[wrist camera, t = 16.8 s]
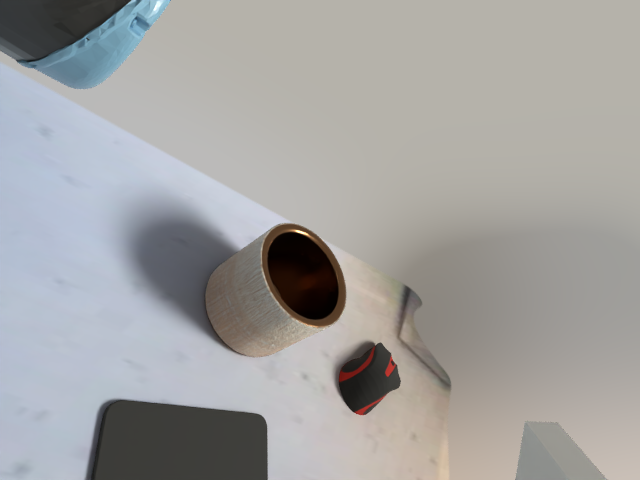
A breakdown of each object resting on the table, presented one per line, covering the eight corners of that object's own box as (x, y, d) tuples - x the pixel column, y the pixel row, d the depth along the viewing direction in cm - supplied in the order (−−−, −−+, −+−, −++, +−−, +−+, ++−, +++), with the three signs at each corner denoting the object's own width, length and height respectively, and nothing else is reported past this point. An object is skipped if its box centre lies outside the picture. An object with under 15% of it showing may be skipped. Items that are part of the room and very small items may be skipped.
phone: (268, 503, 39) (87, 513, 29) (262, 504, 39) (83, 513, 30) (267, 414, 42) (108, 397, 33) (262, 415, 43) (104, 399, 34)
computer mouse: (397, 383, 59) (421, 376, 57) (354, 425, 51) (380, 418, 48) (375, 340, 60) (398, 331, 58) (329, 374, 51) (354, 365, 49)
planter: (181, 285, 43) (237, 242, 37) (252, 248, 51) (306, 208, 46) (241, 380, 43) (307, 352, 37) (302, 327, 51) (363, 297, 46)
